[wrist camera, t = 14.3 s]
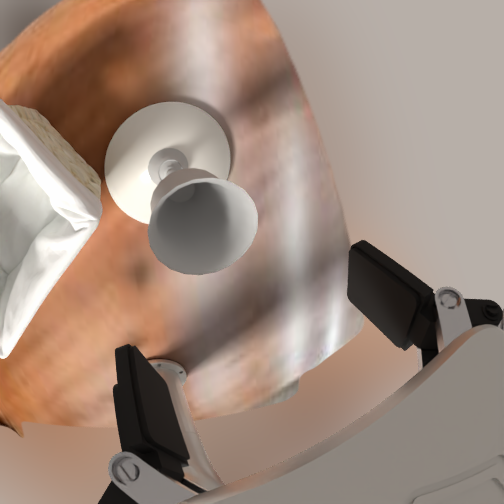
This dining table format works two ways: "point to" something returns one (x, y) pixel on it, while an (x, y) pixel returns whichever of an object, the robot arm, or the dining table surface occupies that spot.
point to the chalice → (197, 216)
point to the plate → (155, 139)
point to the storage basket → (38, 214)
